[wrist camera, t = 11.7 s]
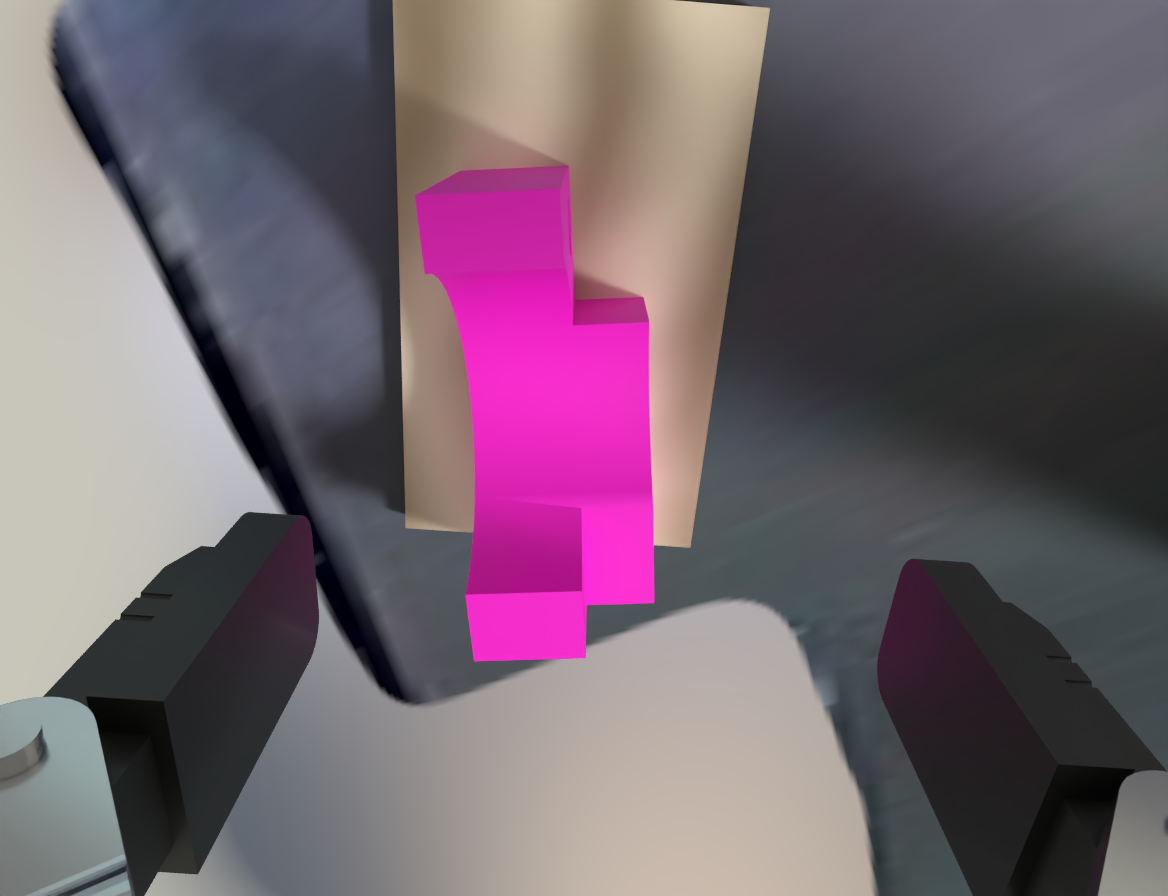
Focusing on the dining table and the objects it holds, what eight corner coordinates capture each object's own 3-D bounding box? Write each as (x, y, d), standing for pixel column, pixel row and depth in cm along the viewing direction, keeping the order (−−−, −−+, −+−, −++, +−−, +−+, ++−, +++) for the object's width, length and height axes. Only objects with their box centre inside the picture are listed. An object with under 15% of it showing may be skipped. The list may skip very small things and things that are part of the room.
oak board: (763, 11, 26) (770, 8, 25) (687, 535, 34) (690, 547, 33) (399, -19, 26) (392, -23, 25) (410, 516, 34) (405, 527, 33)
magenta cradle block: (647, 539, 33) (660, 656, 26) (499, 544, 33) (473, 661, 26) (641, 162, 27) (657, 184, 20) (460, 170, 27) (414, 195, 20)
